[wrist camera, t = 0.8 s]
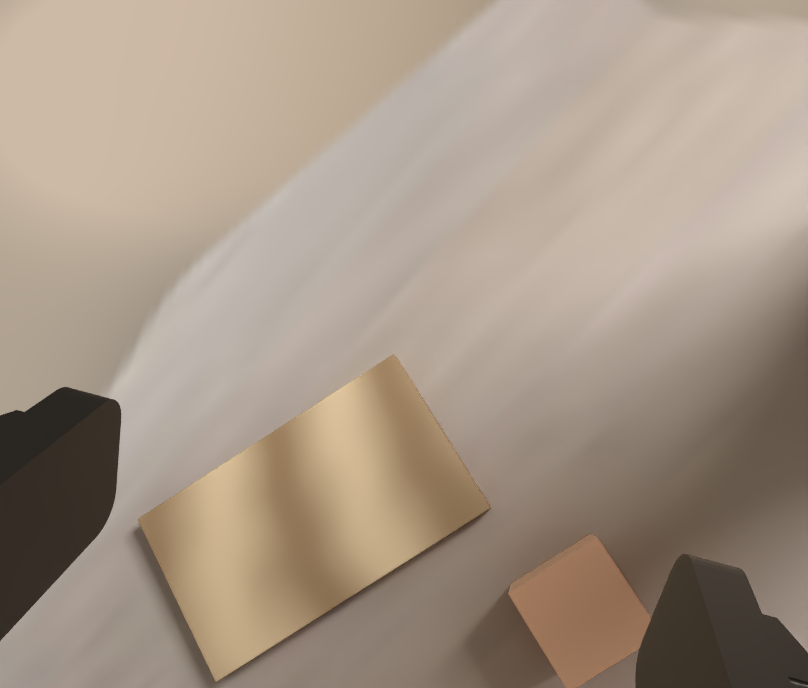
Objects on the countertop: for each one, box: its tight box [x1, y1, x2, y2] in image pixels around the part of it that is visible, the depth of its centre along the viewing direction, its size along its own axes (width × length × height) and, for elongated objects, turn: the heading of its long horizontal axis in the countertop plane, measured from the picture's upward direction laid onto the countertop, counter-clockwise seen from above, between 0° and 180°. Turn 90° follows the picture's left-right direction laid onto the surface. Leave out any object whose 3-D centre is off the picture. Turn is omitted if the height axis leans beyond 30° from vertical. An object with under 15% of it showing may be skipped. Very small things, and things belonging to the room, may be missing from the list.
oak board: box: [138, 354, 491, 682], centre depth 34 cm, size 14×8×1 cm, turn 121°
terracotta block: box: [508, 534, 651, 688], centre depth 30 cm, size 4×4×4 cm
